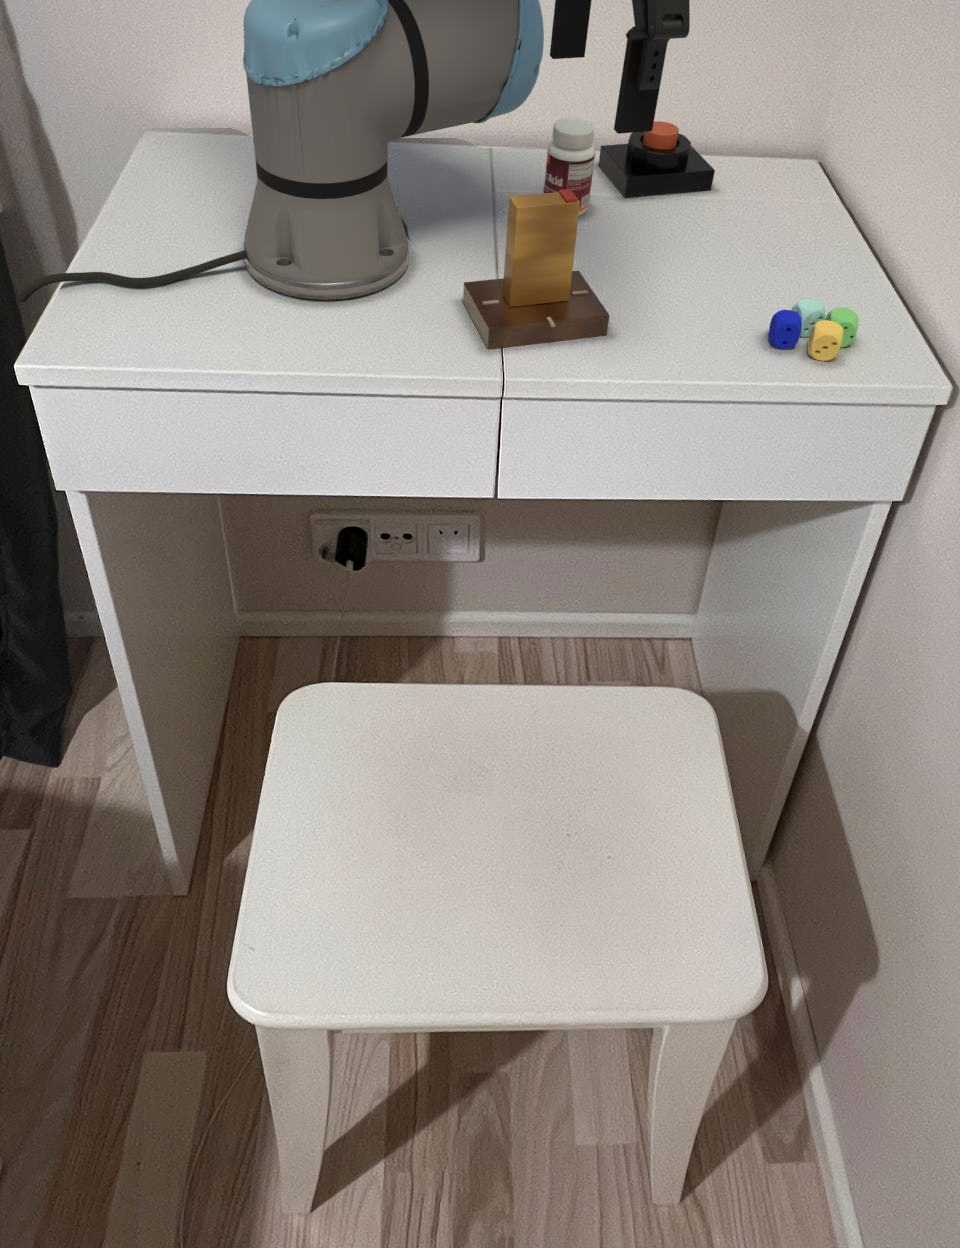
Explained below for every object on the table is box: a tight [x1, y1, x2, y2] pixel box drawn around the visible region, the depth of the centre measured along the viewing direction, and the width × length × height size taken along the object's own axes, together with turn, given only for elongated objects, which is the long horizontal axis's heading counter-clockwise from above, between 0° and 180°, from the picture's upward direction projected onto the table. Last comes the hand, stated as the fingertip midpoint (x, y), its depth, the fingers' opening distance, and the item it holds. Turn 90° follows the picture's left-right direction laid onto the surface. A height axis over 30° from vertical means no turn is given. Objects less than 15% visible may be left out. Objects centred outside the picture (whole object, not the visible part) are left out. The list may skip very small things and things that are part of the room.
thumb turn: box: [503, 189, 580, 307], centre depth 95 cm, size 6×2×9 cm, turn 106°
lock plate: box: [462, 270, 610, 350], centre depth 99 cm, size 11×10×2 cm
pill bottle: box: [543, 117, 596, 217], centre depth 112 cm, size 5×5×8 cm
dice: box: [768, 298, 859, 362], centre depth 98 cm, size 8×3×6 cm
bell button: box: [643, 120, 680, 150], centre depth 118 cm, size 4×4×2 cm
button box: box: [598, 132, 716, 199], centre depth 120 cm, size 10×8×4 cm
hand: (598, 92), depth 85 cm, fingers open, 13 cm apart
